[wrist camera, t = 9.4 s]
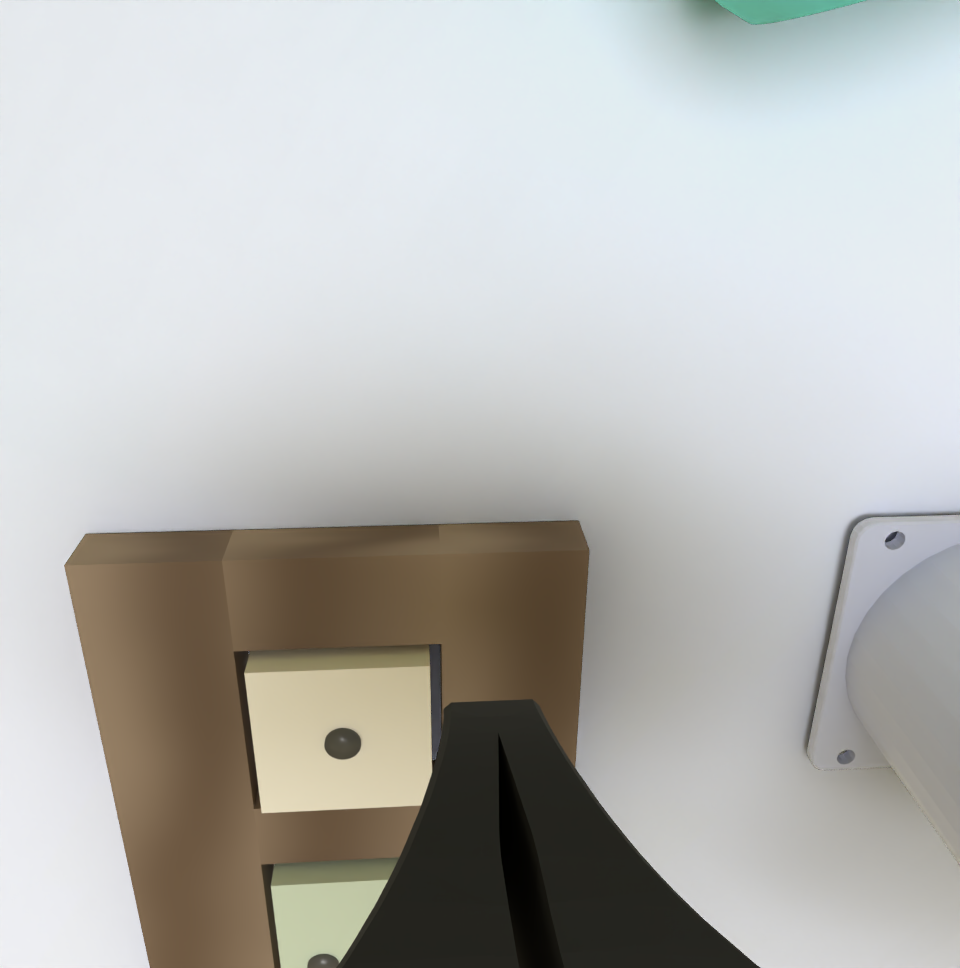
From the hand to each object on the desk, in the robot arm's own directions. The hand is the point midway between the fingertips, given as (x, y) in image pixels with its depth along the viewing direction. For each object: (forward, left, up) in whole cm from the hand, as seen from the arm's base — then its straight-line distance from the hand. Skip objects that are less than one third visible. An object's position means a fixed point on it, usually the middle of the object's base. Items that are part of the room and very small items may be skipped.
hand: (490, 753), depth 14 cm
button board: (+3, +13, -9) cm, 16 cm away
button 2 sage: (+3, +13, -10) cm, 17 cm away
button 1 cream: (+3, +6, -10) cm, 12 cm away
